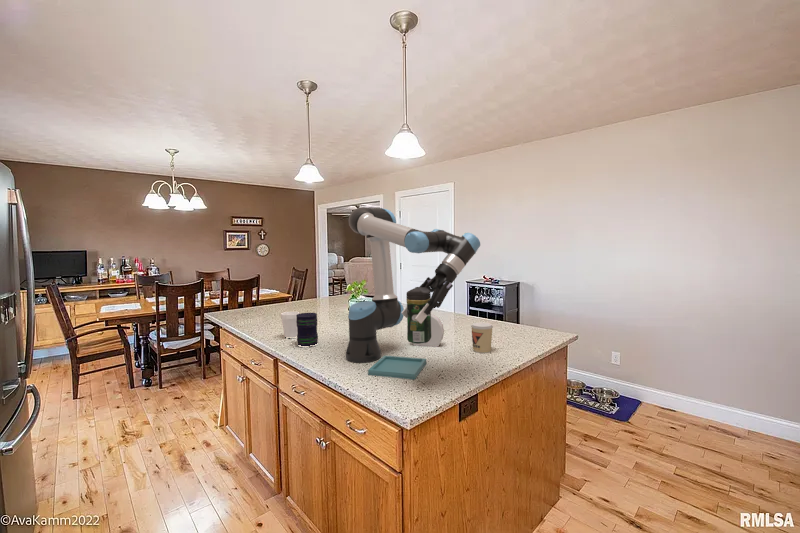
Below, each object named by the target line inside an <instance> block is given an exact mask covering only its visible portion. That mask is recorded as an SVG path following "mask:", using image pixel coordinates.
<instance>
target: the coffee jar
mask: <svg viewBox="0 0 800 533" xmlns="http://www.w3.org/2000/svg"><path fill="white" fill-rule="evenodd" d="M431 293H432V292H430V290H429V289H427V288H426V287H420V286H415V287H414V288H412V289H410V290H407V292H406V306H407V318H406V322H407V325H406V326H407V327H406V329H407V330H406V332H407V341H408V343H411V344H413V343H415V344H420V343H427V342H428V341H429V340H430V339H431V314H432V311H431V312H430V313H429V314H428V316H427V317H426V318H425V319H424V321H423V322H422V323H419V322H418V321H417V320H416V319H415V318H416V316H417V315H418V314H419V312H420V311H421V310H422V309H423V307H424V306H425V305H426V304H427V303H428V301H430V299H431V296H432V294H431ZM428 304H429V303H428Z"/></svg>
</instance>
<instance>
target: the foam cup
mask: <svg viewBox="0 0 800 533" xmlns="http://www.w3.org/2000/svg"><path fill="white" fill-rule="evenodd" d="M297 314H301V313H300V312H299V311H296V310H295V311H284V312H281V313H280V320H281V324H282V329H283V336H284V338H285V337H295V336H297V334H298V331H297V323H296V320H297V317H296V315H297Z"/></svg>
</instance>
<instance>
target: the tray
mask: <svg viewBox="0 0 800 533" xmlns="http://www.w3.org/2000/svg"><path fill="white" fill-rule="evenodd" d="M426 365H427V358H424V357H423V358H420V357H408V356H407V357H406V356H396V355H383V356H381V358H380V359H378V360H377V362H375V363H374V364H373V365H372V366H371V367H370V368H368V369H367V375H368V376H375V375H376V377H377V376H378V377H385V378H386V377H388V378H396V379H407V380H415V379H417V377H418V376H419V374H420V373H421V371H422V370H423V369H424V367H426Z"/></svg>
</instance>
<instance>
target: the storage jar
mask: <svg viewBox="0 0 800 533" xmlns="http://www.w3.org/2000/svg"><path fill="white" fill-rule="evenodd" d="M317 315H318V314H317V313H316V312H302V313H300V314H297V315H296V317H297V320H296V323H297V331H298V334H297V338H296V341H297V346H298V345H301V346H310V345H315V344H317V343H318V344H319V336H318V335H319V333H318V316H317Z"/></svg>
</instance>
